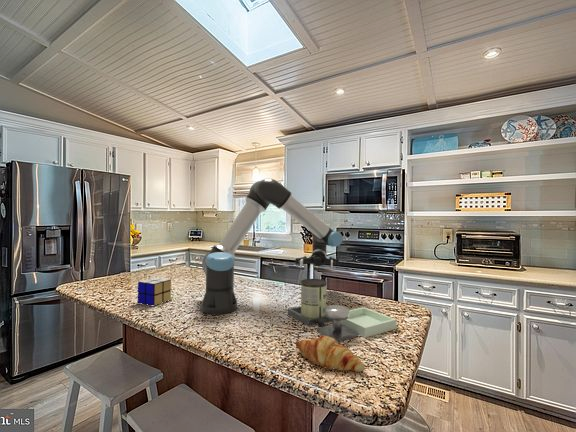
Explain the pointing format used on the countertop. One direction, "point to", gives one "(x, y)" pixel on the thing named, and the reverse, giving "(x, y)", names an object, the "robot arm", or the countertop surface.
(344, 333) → the door knob
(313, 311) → the coffee can
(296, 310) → the socket
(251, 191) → the robot arm
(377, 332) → the tray
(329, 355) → the croissant
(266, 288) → the countertop surface
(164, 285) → the puzzle cube
